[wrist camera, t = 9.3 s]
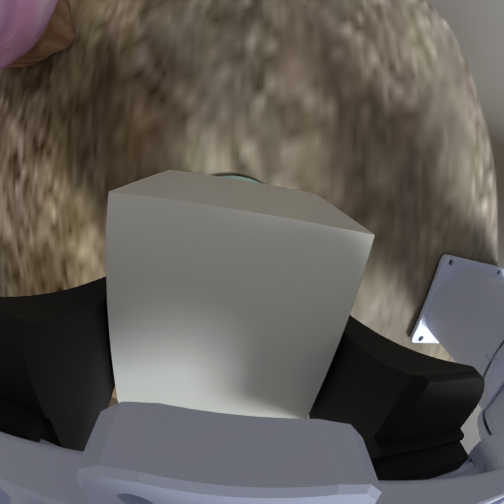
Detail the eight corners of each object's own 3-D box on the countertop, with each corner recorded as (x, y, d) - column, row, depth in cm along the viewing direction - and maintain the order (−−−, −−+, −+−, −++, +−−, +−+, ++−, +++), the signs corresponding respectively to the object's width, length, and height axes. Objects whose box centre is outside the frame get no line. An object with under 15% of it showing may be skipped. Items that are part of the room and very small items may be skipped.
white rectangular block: (315, 193, 12) (374, 234, 6) (271, 368, 15) (283, 463, 9) (169, 169, 11) (108, 191, 6) (156, 352, 14) (126, 443, 9)
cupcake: (11, 103, 15) (-84, 101, 6) (14, 17, 13) (-61, -10, 3) (105, 58, 15) (15, 10, 6) (103, -30, 12) (43, -94, 3)
